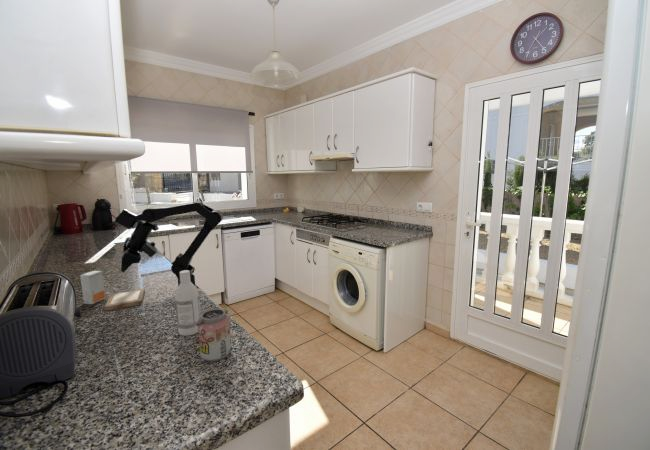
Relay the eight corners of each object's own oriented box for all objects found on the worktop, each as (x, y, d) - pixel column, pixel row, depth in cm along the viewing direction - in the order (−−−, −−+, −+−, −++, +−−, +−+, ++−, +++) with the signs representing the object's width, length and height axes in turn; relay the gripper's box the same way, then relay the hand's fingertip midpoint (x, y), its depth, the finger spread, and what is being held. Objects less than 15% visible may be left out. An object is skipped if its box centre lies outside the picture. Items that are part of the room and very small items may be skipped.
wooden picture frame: (145, 292, 131) (144, 288, 131) (142, 304, 119) (141, 300, 118) (111, 297, 126) (111, 293, 125) (105, 310, 113) (104, 306, 113)
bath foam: (191, 323, 102) (185, 267, 99) (206, 327, 99) (201, 269, 96) (173, 333, 96) (167, 273, 92) (189, 338, 93) (183, 276, 90)
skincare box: (92, 304, 119) (88, 275, 117) (83, 304, 120) (79, 275, 118) (106, 298, 125) (102, 270, 123) (98, 297, 126) (93, 270, 124)
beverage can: (193, 353, 85) (189, 313, 83) (220, 341, 91) (217, 303, 89) (209, 367, 79) (205, 324, 77) (237, 352, 85) (234, 312, 83)
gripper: (161, 249, 123) (143, 282, 124) (159, 234, 138) (143, 263, 139) (131, 240, 117) (112, 274, 117) (133, 224, 132) (116, 255, 132)
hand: (123, 266), depth 127 cm, fingers open, 9 cm apart
